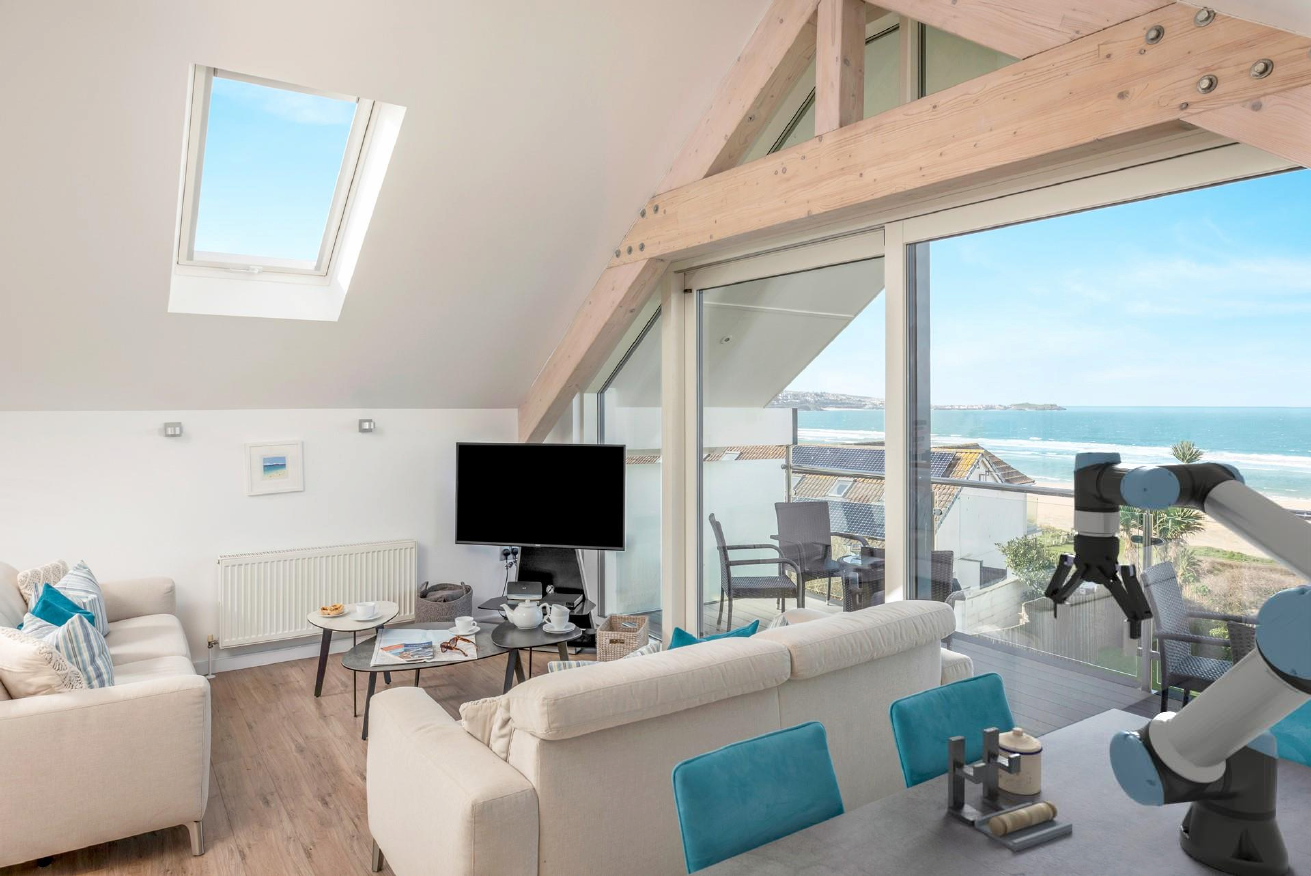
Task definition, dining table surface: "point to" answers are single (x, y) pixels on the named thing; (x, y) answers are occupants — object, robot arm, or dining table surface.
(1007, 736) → the teacup with lid
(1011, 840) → the tray
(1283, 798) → the dining table surface
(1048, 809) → the wooden cylinder
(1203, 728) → the robot arm
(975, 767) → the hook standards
